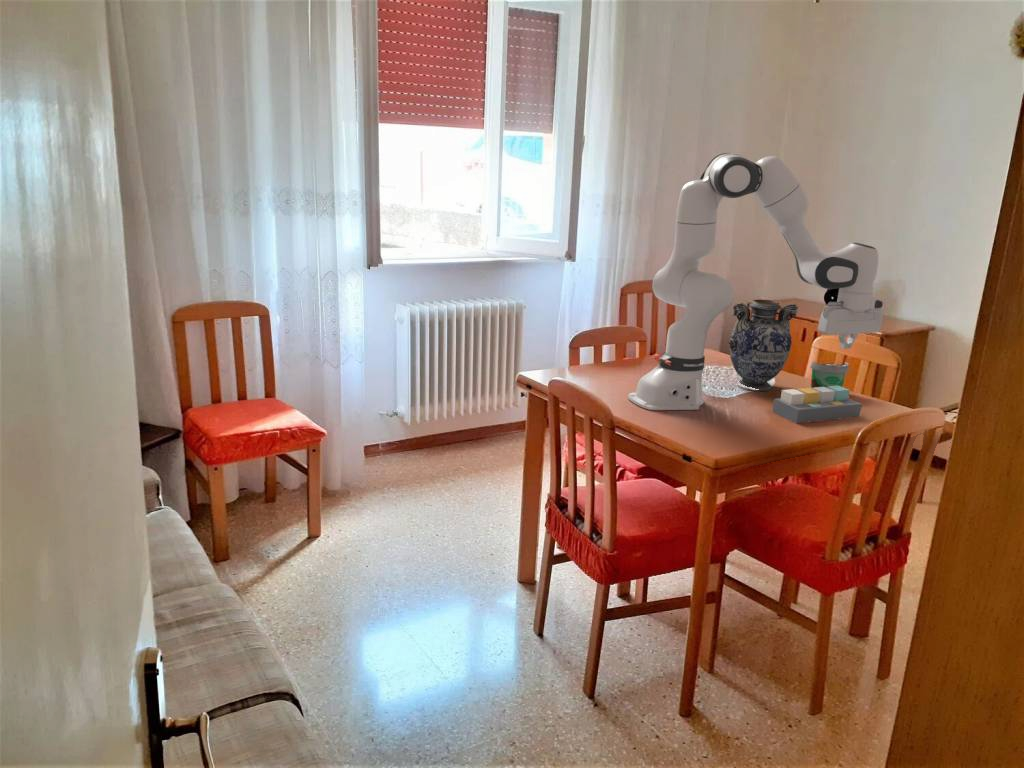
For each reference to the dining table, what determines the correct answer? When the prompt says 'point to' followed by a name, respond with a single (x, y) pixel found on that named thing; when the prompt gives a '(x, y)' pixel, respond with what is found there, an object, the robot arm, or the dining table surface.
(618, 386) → the dining table surface
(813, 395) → the ochre key
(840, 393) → the teal key
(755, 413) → the dining table surface
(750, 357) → the decorative vase
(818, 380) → the food container
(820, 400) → the grey key
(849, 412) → the keypad
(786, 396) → the cream key
